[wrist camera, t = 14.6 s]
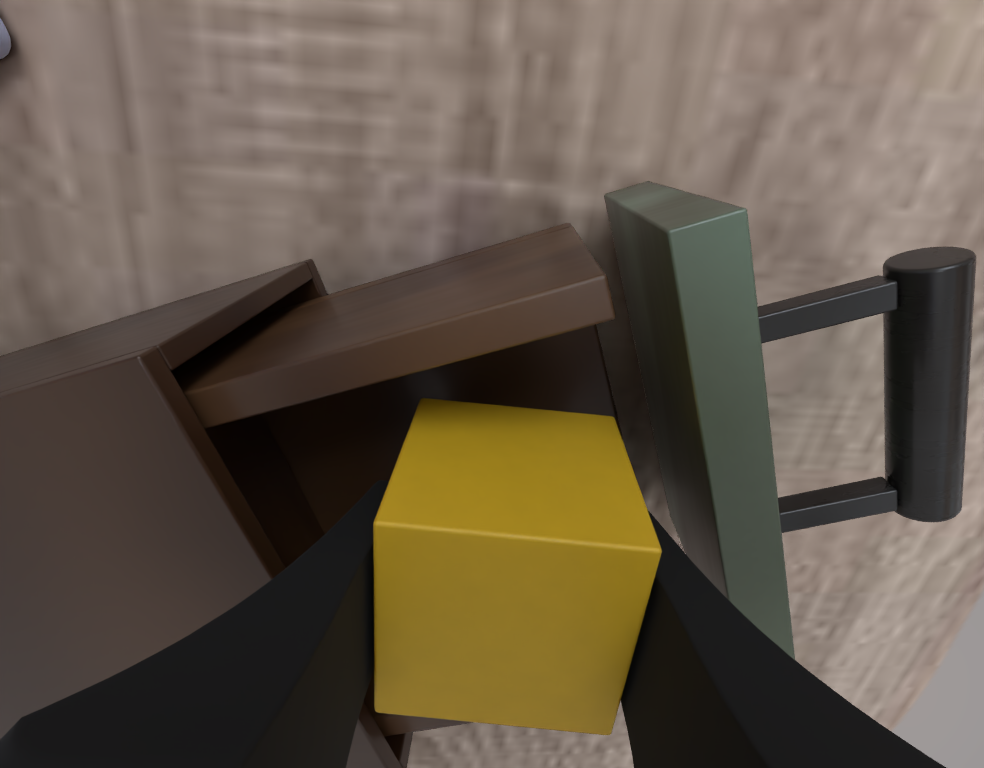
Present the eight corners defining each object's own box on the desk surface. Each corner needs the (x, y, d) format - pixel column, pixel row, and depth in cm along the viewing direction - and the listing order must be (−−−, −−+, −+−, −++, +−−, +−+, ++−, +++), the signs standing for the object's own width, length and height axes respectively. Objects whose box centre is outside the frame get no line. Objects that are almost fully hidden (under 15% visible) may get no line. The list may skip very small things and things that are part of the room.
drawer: (840, 121, 13) (1106, 103, 7) (854, 477, 17) (1030, 652, 11) (205, 316, 16) (21, 418, 10) (347, 582, 20) (276, 767, 14)
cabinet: (312, 258, 16) (138, 355, 9) (443, 562, 20) (403, 795, 13) (-64, 376, 18) (-459, 534, 11) (131, 627, 23) (-53, 857, 15)
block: (420, 396, 12) (371, 522, 8) (615, 414, 12) (664, 550, 8) (415, 549, 14) (373, 714, 10) (584, 565, 14) (611, 737, 10)
